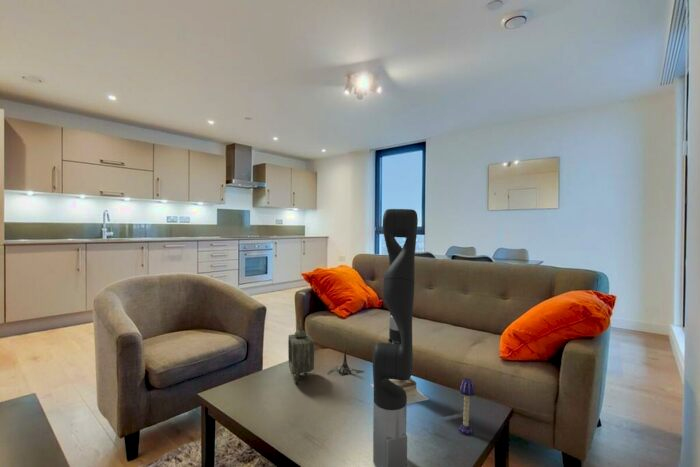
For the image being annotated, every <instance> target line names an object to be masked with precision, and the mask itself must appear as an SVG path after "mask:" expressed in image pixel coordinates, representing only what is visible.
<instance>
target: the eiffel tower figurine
mask: <svg viewBox="0 0 700 467" xmlns="http://www.w3.org/2000/svg"><path fill="white" fill-rule="evenodd" d="M343 353H344V354H343V361H342V365H340V366H337V367H334V368H332V369H331V370H329V371H328V372H327V373H326V375H328V376H329V375H331V374H333V373H335V372H337V374H338V375H339V376H340V377H344V376H351V375H353V373H352V372H356V373H357V374H362V373H363V374H364V373H365V370H360V369H354V368H351V367H349V365H348V361H347V348H346V346H344V350H343Z"/></svg>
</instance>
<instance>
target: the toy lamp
mask: <svg viewBox="0 0 700 467" xmlns="http://www.w3.org/2000/svg"><path fill="white" fill-rule="evenodd" d="M459 392H460V394H462V395H463V413H462V414H463V416H462V419H463V420H462V424H460V425H459V426H458V432H459V433H460V434H462V435H465V436H471V435H472V434H473V429H472V427H471V426H470V423H469V420H470V397H473V396H475V394H476V390H475V385H474V382H473V380H472V379H470V378H463V379H462V381H461V384H460V388H459Z"/></svg>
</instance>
